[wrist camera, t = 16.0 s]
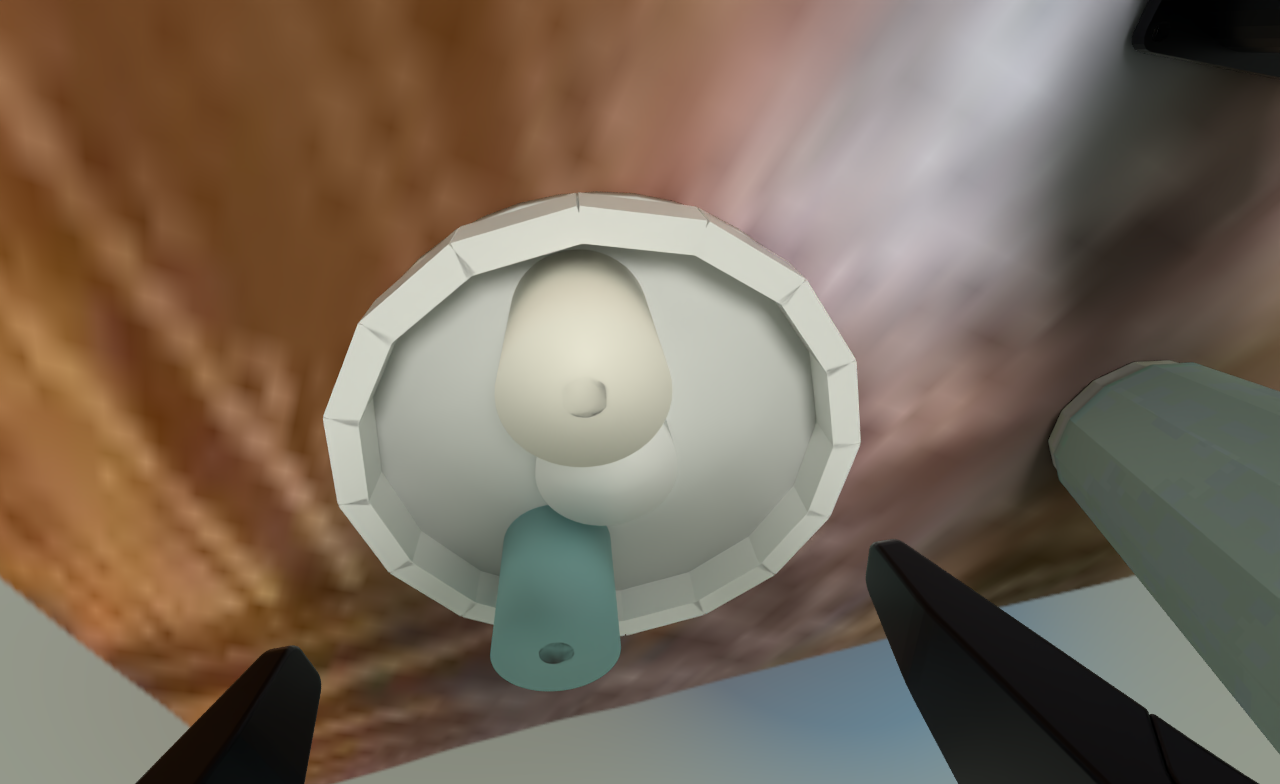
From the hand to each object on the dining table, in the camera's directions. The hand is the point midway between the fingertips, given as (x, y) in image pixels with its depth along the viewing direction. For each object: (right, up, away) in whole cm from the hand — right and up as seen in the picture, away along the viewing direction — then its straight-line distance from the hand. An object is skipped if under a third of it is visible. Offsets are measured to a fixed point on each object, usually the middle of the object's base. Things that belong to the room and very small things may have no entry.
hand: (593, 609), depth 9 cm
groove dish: (-1, +2, +13) cm, 13 cm away
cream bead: (-1, +6, +9) cm, 11 cm away
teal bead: (-3, -3, +15) cm, 15 cm away
